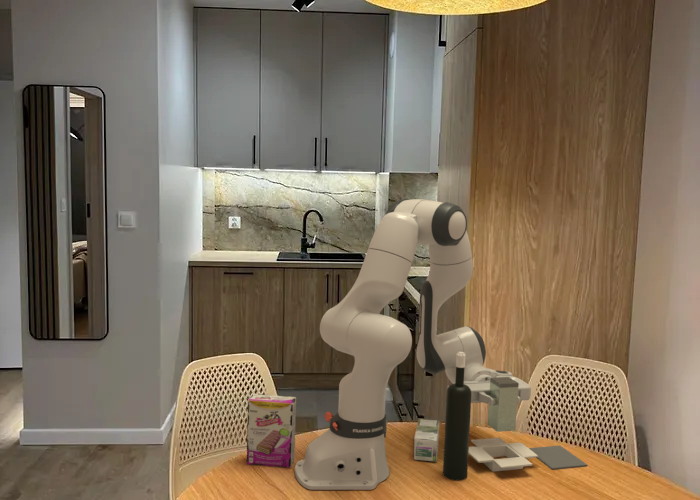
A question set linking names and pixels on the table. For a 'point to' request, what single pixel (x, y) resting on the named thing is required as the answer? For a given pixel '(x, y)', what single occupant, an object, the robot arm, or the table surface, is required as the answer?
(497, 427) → the tea tin
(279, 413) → the candy bar box
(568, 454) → the mat
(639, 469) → the table surface
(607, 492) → the table surface
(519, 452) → the carton
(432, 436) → the syrup box
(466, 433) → the wine bottle
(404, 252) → the robot arm
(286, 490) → the table surface
